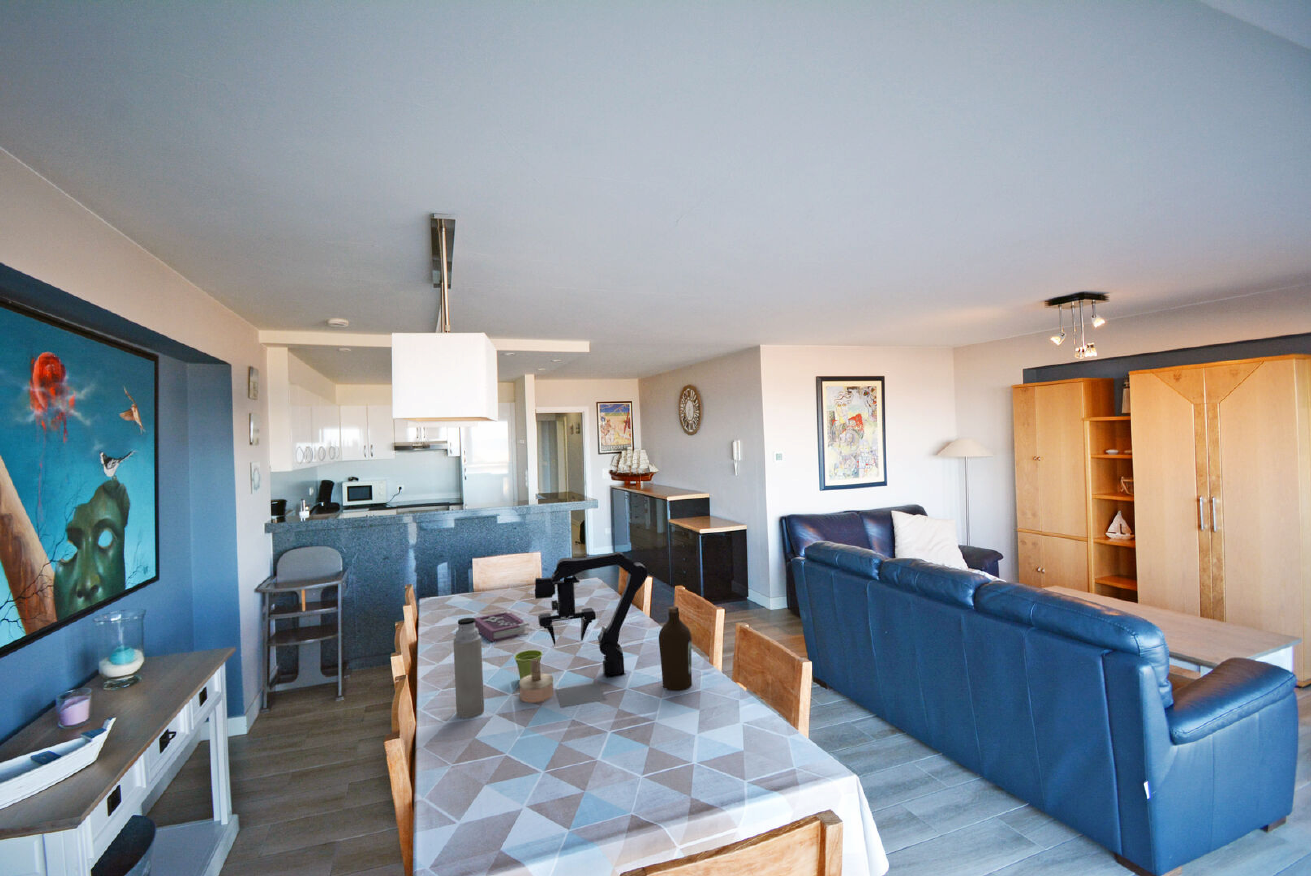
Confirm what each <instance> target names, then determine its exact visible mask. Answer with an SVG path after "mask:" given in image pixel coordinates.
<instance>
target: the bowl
mask: <svg viewBox="0 0 1311 876" xmlns="http://www.w3.org/2000/svg"><path fill="white" fill-rule="evenodd" d="M519 694H520V696H519V697H520V701H523V702H525V703H532V704H533V703H538V702H539V703H540V702H543V701H546V700H549V699H550V698H551V697H553V695H554V682H553V683H552V684H551V685H549V686H547V687H545V688H541V689H536V690H527V689H523V688H521V687H520V686H519Z"/></svg>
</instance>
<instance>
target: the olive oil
mask: <svg viewBox="0 0 1311 876" xmlns="http://www.w3.org/2000/svg"><path fill="white" fill-rule="evenodd" d="M692 640H693V639H692V634H691V631H690V629H689V627H688V626H687V625H686V624H685V622H683V621H682V620H681V619H680V610H679V607H678V606H676V605H674V606H669V607H668V619H667V622H665V624H664V625H663V626H662V628H661V629H660V630H659V634H658V644H659V647H658V648H659V656H660V667H661V679H662V687H663V688H664V689H666V690H668V691H673V692H674V691H675V692H676V691H677V692H678V691H685V690H688V689H690V688H691V686H692V685H693V680H692V679H693V677H692V673H693V672H692V671H693V670H692V669H693V667H692V649H693V648H692V646H693V645H692V644H693V643H692Z"/></svg>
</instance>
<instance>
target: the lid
mask: <svg viewBox="0 0 1311 876" xmlns="http://www.w3.org/2000/svg"><path fill="white" fill-rule="evenodd" d="M518 683H519V688H520V687H521V688H523V689H527V690H536V689H541V688H545V687H547V686H549V685H551V684H552V683H553V684H554V677H553V675H551V674H549V673H541V660H539V659H534V660H531V675H528V676H525V677H523V678H522V679H521V680H520V679H519V682H518Z"/></svg>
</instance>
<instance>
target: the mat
mask: <svg viewBox="0 0 1311 876" xmlns="http://www.w3.org/2000/svg"><path fill="white" fill-rule="evenodd" d="M554 691H555V694H556V697H557V701H558V703H559V706H560V708H561V709H562V708H567V707H573V706H574V707H575V706H579V705H584V704H585V705H586V704H590V703H596V702H601V701H606V700H608V699H607V698H606V696H605V694H604V691H603V690H602V688H601V685H599V682H593V683H587V684H586V683H585V684H581V685H574V686H569V687H564V688H559V689H554Z"/></svg>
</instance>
